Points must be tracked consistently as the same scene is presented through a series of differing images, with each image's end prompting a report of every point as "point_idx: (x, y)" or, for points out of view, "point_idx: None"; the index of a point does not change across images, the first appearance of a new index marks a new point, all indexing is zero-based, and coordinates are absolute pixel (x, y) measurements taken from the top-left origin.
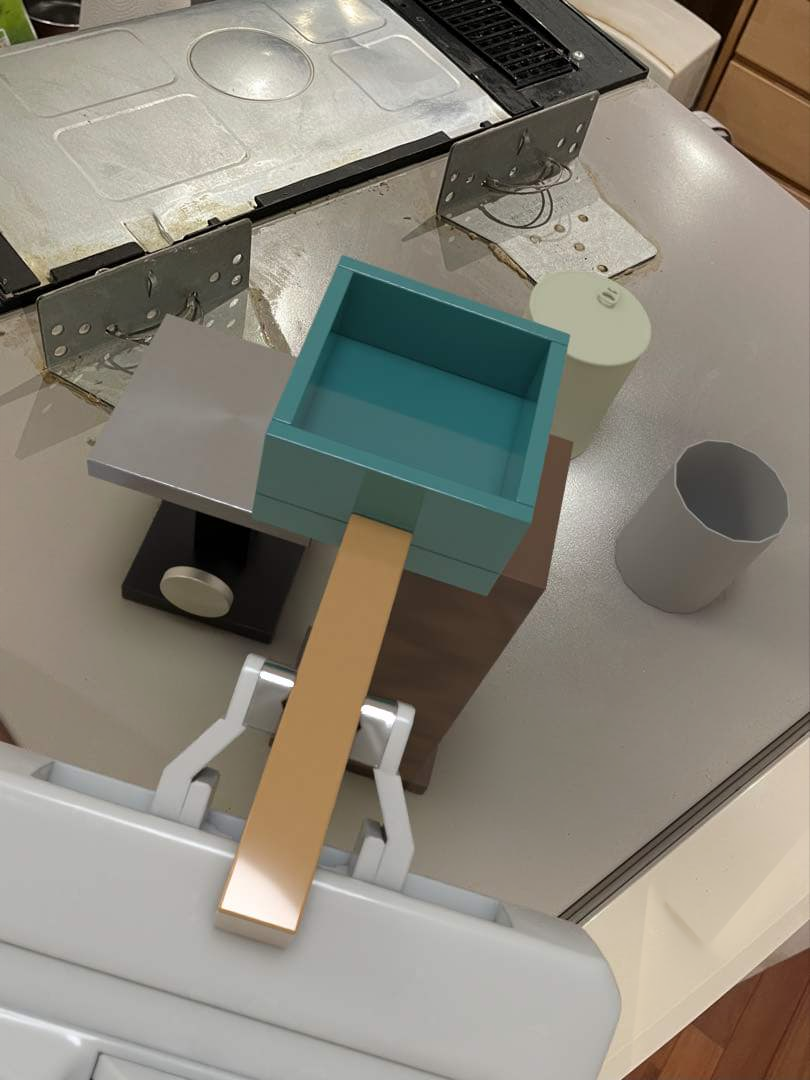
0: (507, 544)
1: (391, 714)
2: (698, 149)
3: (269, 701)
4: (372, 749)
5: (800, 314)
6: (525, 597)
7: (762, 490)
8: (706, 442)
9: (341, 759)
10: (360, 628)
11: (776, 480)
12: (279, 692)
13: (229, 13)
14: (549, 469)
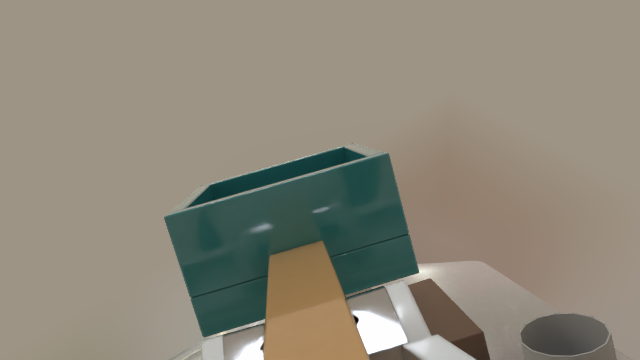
0: (390, 192)
1: (380, 289)
2: (419, 269)
3: (246, 356)
4: (386, 328)
5: (518, 285)
6: (477, 354)
7: (579, 330)
8: (526, 326)
9: (351, 334)
10: (311, 278)
11: (579, 316)
12: (252, 341)
13: (186, 351)
14: (427, 292)
